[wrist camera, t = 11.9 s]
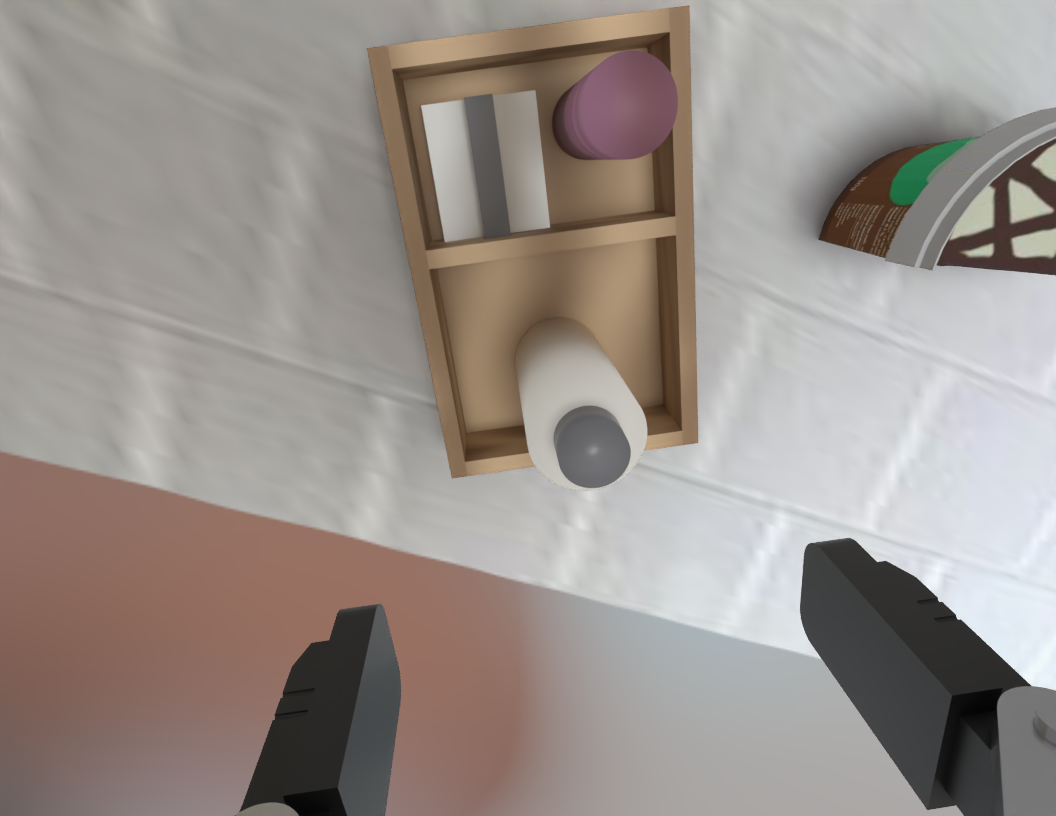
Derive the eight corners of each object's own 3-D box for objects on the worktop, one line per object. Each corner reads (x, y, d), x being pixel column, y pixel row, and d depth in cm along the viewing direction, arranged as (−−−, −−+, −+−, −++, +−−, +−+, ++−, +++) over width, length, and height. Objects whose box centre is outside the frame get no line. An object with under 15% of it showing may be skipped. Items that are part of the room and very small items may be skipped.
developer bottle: (509, 323, 31) (521, 405, 21) (597, 311, 32) (655, 386, 21) (521, 405, 33) (538, 520, 22) (604, 393, 33) (661, 502, 23)
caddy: (455, 441, 35) (445, 541, 26) (383, 64, 27) (334, 17, 18) (673, 410, 35) (740, 498, 26) (659, 27, 28) (745, -37, 19)
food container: (1055, 132, 31) (1304, 120, 21) (1009, 257, 33) (1215, 294, 24) (823, 106, 29) (979, 81, 20) (791, 237, 32) (918, 269, 22)
